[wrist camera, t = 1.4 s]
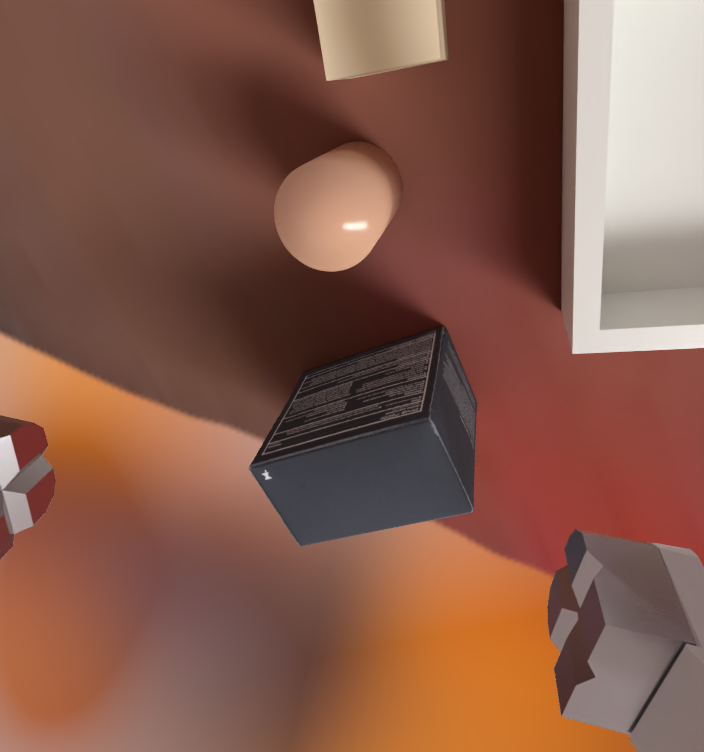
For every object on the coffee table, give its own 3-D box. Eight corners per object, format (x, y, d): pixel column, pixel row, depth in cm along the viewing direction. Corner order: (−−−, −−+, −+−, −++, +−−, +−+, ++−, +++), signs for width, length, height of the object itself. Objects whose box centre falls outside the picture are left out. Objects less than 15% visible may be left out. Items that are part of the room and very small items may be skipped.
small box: (340, 445, 40) (296, 553, 31) (299, 370, 38) (240, 465, 29) (481, 408, 36) (477, 520, 27) (445, 321, 34) (428, 413, 25)
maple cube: (439, -66, 25) (428, -92, 21) (449, 60, 27) (440, 58, 23) (334, -39, 26) (303, -59, 22) (351, 78, 29) (326, 80, 24)
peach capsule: (396, 134, 29) (371, 152, 24) (407, 228, 32) (387, 266, 26) (307, 149, 31) (262, 168, 25) (324, 237, 33) (286, 275, 27)
